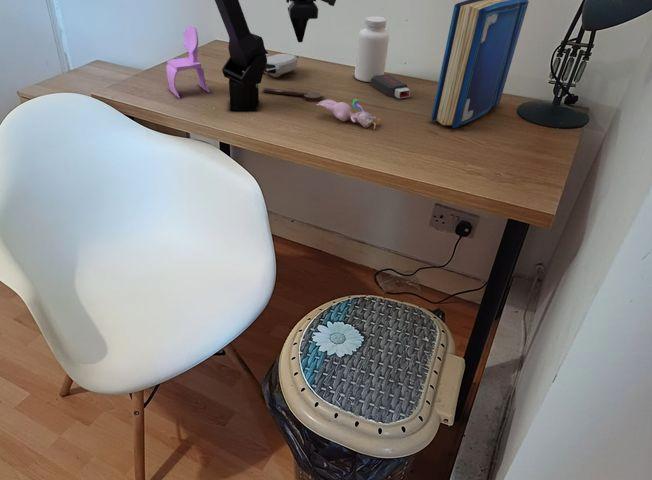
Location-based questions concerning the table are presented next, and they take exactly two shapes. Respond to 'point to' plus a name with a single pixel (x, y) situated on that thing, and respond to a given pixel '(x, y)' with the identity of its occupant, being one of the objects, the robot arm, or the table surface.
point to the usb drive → (390, 86)
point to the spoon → (296, 94)
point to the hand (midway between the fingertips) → (300, 42)
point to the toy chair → (186, 61)
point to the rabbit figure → (349, 112)
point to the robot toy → (280, 64)
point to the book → (477, 59)
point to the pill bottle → (372, 49)
